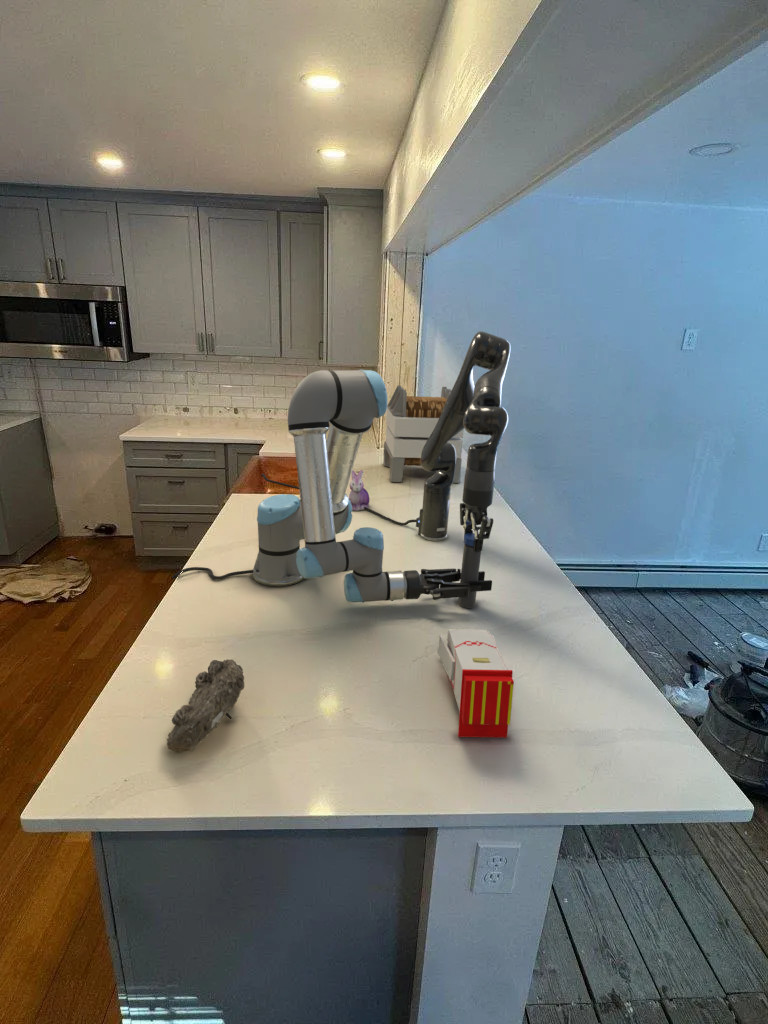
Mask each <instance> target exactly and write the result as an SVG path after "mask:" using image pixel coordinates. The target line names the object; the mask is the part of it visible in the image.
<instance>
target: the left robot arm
mask: <svg viewBox="0 0 768 1024" xmlns="http://www.w3.org/2000/svg"><path fill="white" fill-rule="evenodd" d="M386 387H387V386H386V384H385V382H384V379H383V378H382V376H381V375H380V374H379V373H378V372H377V371H375V370H370V369H369V370H368V369H362V368H360V369H356V370H355V369H354V370H353V369H352V370H350V369H349V370H327V369H322V370H316V371H313V372H311V373H309V374H308V375H306V376H305V377H304V378H303V379H302V380H301V381H300V382H299V384H298V385H297V386H296V388H295V390H294V391H293V394H292V396H291V399H290V400H289V406H288V410H287V428H288V433H289V434H290V435H291V436H292V437H293V444H294V445H293V446H294V453H295V454H294V455H295V461H296V471H297V481H298V482H297V483H298V487H299V489H298V492H299V496H297V495H296V494H295V495H294V494H292V493H288V494H285V493H281V494H276V495H272V496H268V497H267V498H265V499H263V500H262V501H261V502H260V503H259V504H258V506H257V516H256V522H257V536H258V537H257V538H258V540H257V541H258V552H257V556H256V559H255V562H254V566H253V569H248V570H247V569H246V570H238V571H232V572H228V573H226V574H223V575H214V572H213V570H212V569H211V568H209V567H203V566H202V567H201V566H192V567H186V568H183V569H180V570H178V571H177V572H176V573H175V574H174V575H173V576H172V577H171V579H172V580H173V579H176V578H178V577H179V576H181V575H183V574H185V573H188V572H193V571H200V572H208V574H209V576H210V578H211V579H213V580H217V581H219V580H225V579H228V578H230V577H233V576H239V575H249V574H252V577H253V579H254V580H255V581H256V582H257V583H259V584H260V585H264V586H268V587H287V586H293V585H295V584H298V583H300V582H302V581H303V580H304V579H307V580H308V579H314V578H323V577H328V576H330V575H331V576H332V575H334V574H335V575H336V574H340V573H345V572H349V573H346V574H345V575H344V579H343V590H344V591H343V593H344V598H345V600H346V601H347V602H348V603H369V602H381V601H391V602H394V601H401V600H418V599H419V598H420V597H421V596H422V595H431V596H432V600H433V601H437V600H441V599H456V598H457V599H458V598H459V597H468V596H469V592H474V591H477V592H491V591H492V587H493V580H491V579H488V580H487V579H486V580H485V575H486V572H485V571H484V570H482V571H481V570H479V575H478V581H468V583H460V578H461V569H462V568H457V569H456V568H435V569H432V568H431V569H429V568H428V569H426V568H421V569H420V573H419V571H418V570H417V569H413V570H411V569H410V570H404V571H402V570H391V571H390V570H389V571H383V560H384V559H383V558H384V550H385V549H384V548H385V543H384V534H383V532H382V531H381V530H379V529H378V528H375V527H370V526H369V527H368V526H367V527H366V526H365V527H359V528H357V529H355V530H354V532H353V536H352V539H347V540H342V541H337V540H336V535H338V534H343V533H345V532H346V531H347V530H348V529H349V527H350V526H351V523H352V521H353V510H352V505H351V502H350V500H349V495H347V493H346V492H347V490H348V486H349V484H350V479H351V477H352V471H353V469H354V465H355V463H356V459H357V455H358V451H359V448H360V445H361V441H362V438H363V435H364V434H365V433H367V432H368V431H370V430H371V428H372V424H373V421H374V419H375V418H376V419H380V418H382V417H383V416H384V415H385V414H386V412H387V405H388V403H389V402H388V392H387V388H386ZM327 433H328V434H327ZM303 540H304V546H303V547H301V541H303ZM182 571H183V572H182ZM351 571H352V572H351ZM181 572H182V573H181ZM180 573H181V574H180Z"/></svg>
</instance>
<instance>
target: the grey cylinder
mask: <svg viewBox="0 0 768 1024" xmlns="http://www.w3.org/2000/svg"><path fill="white" fill-rule="evenodd" d="M473 548H474V546H469V545H466V544H465V543H464V542H463V550H462V560H461V568H460V569H461V578H460V581H459V583H468V581H478V575H479V572H480V565H481V558H482V557H481V556H482V551H481V552H474V551H473ZM477 592H478V591H474V592H469V596H468V597H457V599H458V600H457V604H458V605H459V607H462V608H465V609H472V608H475V606H476V601H477Z"/></svg>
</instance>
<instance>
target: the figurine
mask: <svg viewBox="0 0 768 1024" xmlns="http://www.w3.org/2000/svg"><path fill="white" fill-rule="evenodd" d="M363 475H364V470H363V469H361V470H359V472H358V473H356V472H355V470H352V472H351V480H350V482H349V489H350V492H349V494H348V498H349V500H350V502H351V505H352V511H363V510H365V509H364V507H367V508H369V505H370V495H369V491H367V489H365V484H364V482H363Z"/></svg>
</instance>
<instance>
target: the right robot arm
mask: <svg viewBox="0 0 768 1024" xmlns="http://www.w3.org/2000/svg"><path fill="white" fill-rule="evenodd" d="M510 355H511V343H510V342H509V341H508V340H507V339H505V338H503V337H500V336H497V335H495V334H492V333H488V332H486V331H480V330H479V331H476V333H475V334H474V335H473V337H472V339H471V341H470V343H469V346H468V349H467V351H466V354H465V357H464V359H463V362H462V365H461V368H460V370H459V372H458V374H457V375H458V376H457V378H456V379H455V382H454V384H453V386H452V388H451V389H450V390H451V392H450V394H449V397H448V399H447V401H446V403H445V405H444V408H443V410H442V413H441V415H440V417H439V420H438V422H437V424H436V426H435V428H434V430H433V432H432V433H431V435H430V437H429V438H428V440H427V442H426V443H425V445H424V447H423V449H422V452H421V458H420V461H421V466H420V467H422V469H423V470H424V471H427V472H434V474H433V475H431V476H429V477H428V478H427V479H425V480H424V482H423V493H422V496H423V497H422V506H421V508H420V509H419V516H418V517H416V518H415V519H409V520H407V521H405V522H400V521H396V520H394V519H392V518H390V517H388V516H385V515H384V514H381V513H379V512H377V511H375V510H373V509H371V508H370V507H368V508H367V507H364V510H365V511H367V512H370V513H372V514H374V515H376V516H378V517H380V518H381V519H384V520H386V521H388V522H390V523H393V524H395V525H398V526H407V525H408V524H410V523H415V527H416V528H418V530H417V535H418V536H420V538H421V539H424V540H426V541H432V542H440V541H444V540H446V539H447V538H448V525H449V517H450V516H449V514H450V504H451V494H452V493H451V491H452V486H453V484H454V483H453V479H454V472H455V465H456V451H455V448H454V446H453V445H452V444H451V443H447V442H448V441H449V440H450V439H452V438H453V437H454V436H455V435H457V434H458V433H459V432H460V431H462V430H463V429H464V431H466V432H467V433H468V434H470V435H476V436H477V435H478V436H490V438H489V439H488V440H486V441H483V442H477V443H472V444H470V445H469V447H468V451H467V458H466V468H465V473H464V479H463V490H462V498H461V499H462V500H461V501H462V502H461V503H459V524H460V526H462V529H463V531H464V532H463V536H464V535H465V534H467V533H475V539H474V548H473V551H474V552H481V553H482V552H483V547H484V540H488V539H490V537H491V532H492V529H493V524H494V518H491V517H490V518H489V517H488V508H489V507H490V506H491V505H492V504H493V498H494V489H495V481H496V463H497V454H498V450H499V446H500V443H501V441H502V438H503V435H504V433H505V431H506V430H507V426H508V424H509V415H508V411H507V410H506V409H505V408H504V407H502V406H501V405H502V392H503V391H502V390H503V389H502V388H503V382H504V379H505V376H506V372H507V368H508V364H509V360H510ZM474 367H479V368H481V369H485V370H488V371H487V372H485V373H483V374H482V375H481V376H479V377H478V379H477V380H476V382H475V381H474V374H473V373H474ZM260 477H262V478H263V479H264V480H265V481H266V482H268V483H272V484H276V485H280V486H283V487H288V488H292V489H296V490H299V486H298V485H297V486H296V485H292V484H290V483H289V484H288V483H284V482H281V481H276V480H272V479H270V478H267V476H266V475H265V473H261V475H260ZM462 541H463V543H464V539H463V540H462Z"/></svg>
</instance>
